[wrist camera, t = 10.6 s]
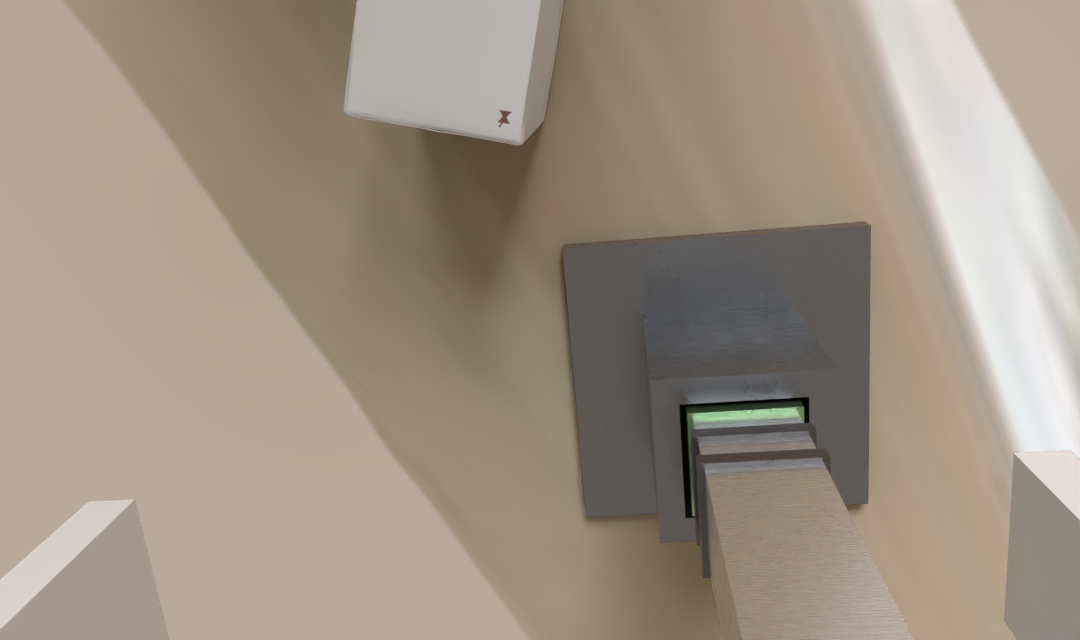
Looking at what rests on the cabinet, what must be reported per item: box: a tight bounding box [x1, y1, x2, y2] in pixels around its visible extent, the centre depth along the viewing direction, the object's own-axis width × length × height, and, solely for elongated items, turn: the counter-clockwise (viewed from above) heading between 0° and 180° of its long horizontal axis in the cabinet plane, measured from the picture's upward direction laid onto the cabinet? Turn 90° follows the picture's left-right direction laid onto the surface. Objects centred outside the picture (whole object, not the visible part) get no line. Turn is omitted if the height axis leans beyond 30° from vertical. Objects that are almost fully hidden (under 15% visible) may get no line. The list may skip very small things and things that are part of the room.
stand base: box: [562, 222, 871, 543], centre depth 46 cm, size 16×16×12 cm
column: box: [686, 398, 914, 640], centre depth 33 cm, size 5×5×22 cm
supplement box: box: [343, 0, 564, 146], centre depth 41 cm, size 7×7×13 cm
